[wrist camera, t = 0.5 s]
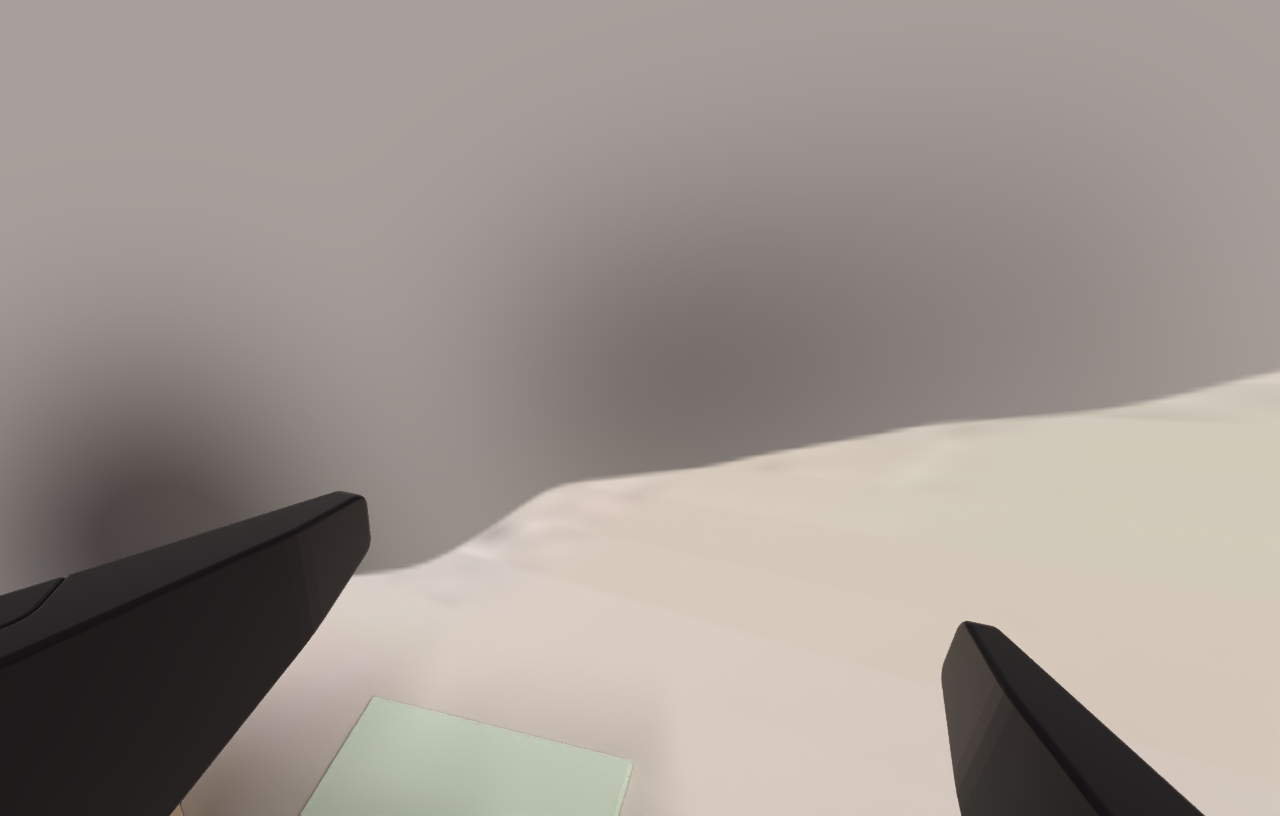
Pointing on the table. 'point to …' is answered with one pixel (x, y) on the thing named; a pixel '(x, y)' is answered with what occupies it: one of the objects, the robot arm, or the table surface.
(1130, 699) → the table surface
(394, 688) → the table surface
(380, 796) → the felt mat
